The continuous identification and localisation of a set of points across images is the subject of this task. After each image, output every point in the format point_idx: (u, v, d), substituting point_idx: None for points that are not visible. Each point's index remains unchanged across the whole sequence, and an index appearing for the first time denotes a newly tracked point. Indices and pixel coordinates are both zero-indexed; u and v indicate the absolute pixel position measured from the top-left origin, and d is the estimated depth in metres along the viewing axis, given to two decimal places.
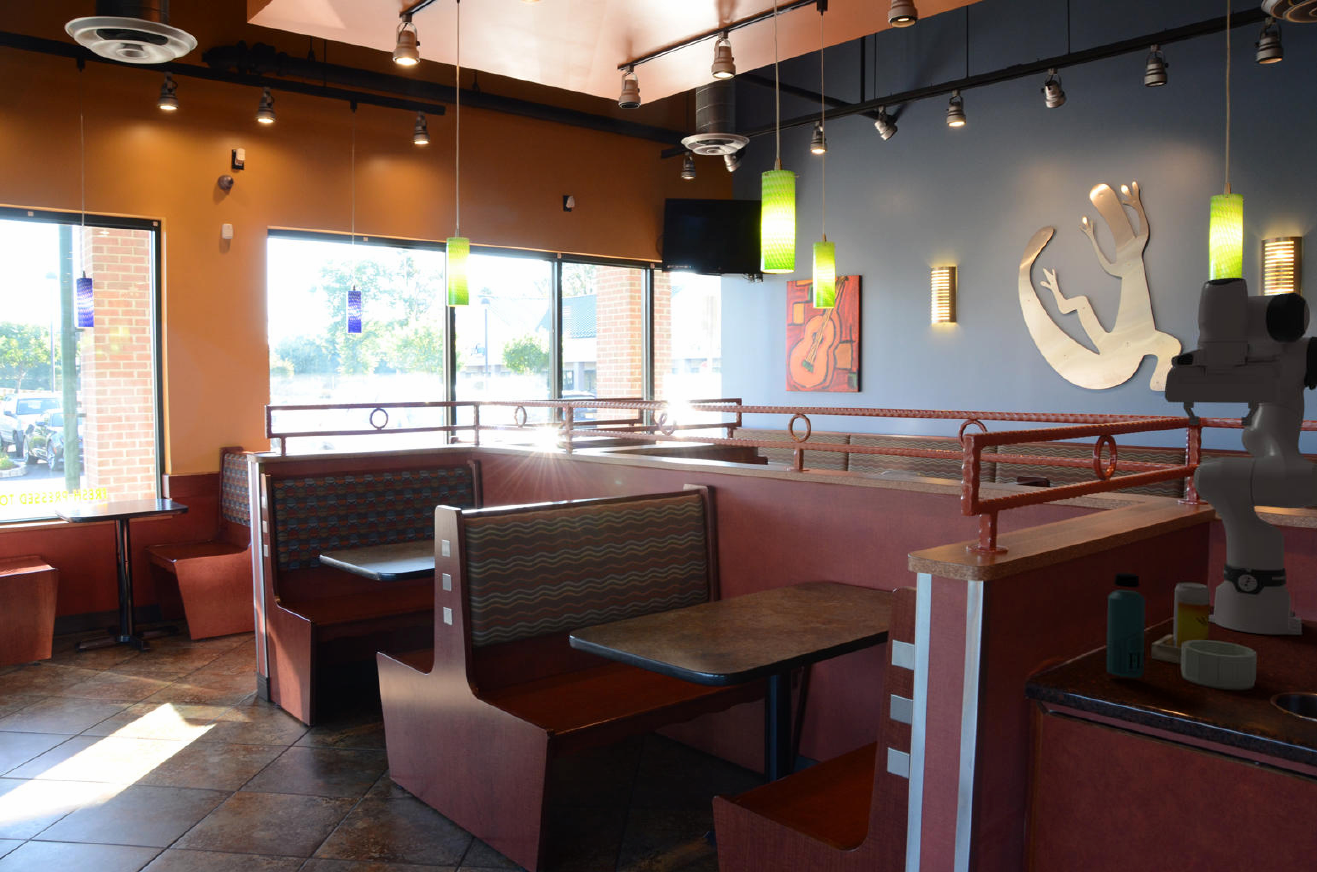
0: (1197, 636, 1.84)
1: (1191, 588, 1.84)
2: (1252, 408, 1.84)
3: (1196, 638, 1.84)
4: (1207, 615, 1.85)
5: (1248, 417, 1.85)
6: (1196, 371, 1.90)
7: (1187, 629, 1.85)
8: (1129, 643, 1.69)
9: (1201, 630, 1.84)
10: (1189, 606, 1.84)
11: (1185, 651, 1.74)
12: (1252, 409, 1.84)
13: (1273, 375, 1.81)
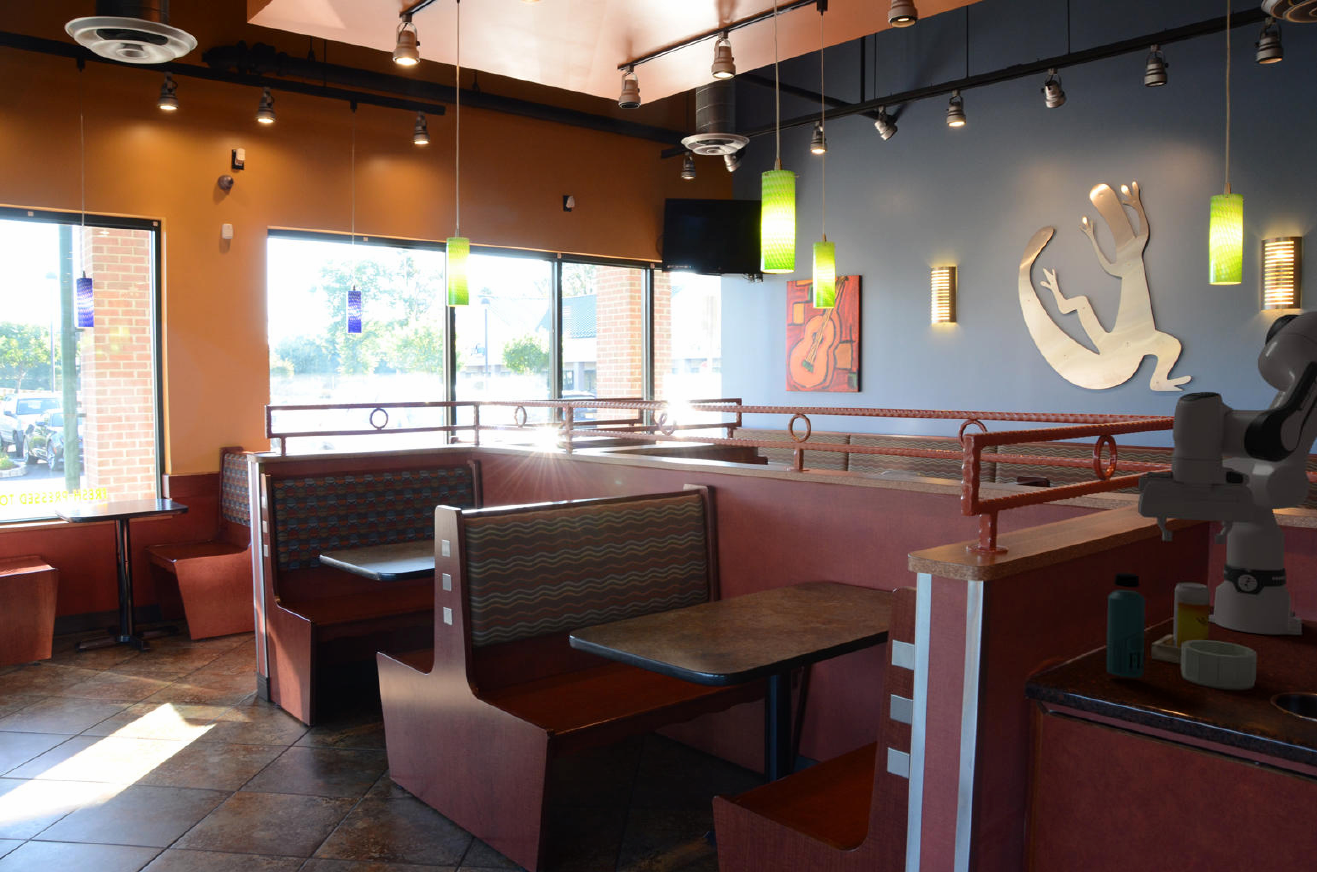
0: (1197, 636, 1.84)
1: (1191, 588, 1.84)
2: None
3: (1196, 638, 1.84)
4: (1207, 615, 1.85)
5: None
6: None
7: (1187, 629, 1.85)
8: (1129, 643, 1.69)
9: (1201, 630, 1.84)
10: (1189, 606, 1.84)
11: (1185, 651, 1.74)
12: None
13: None
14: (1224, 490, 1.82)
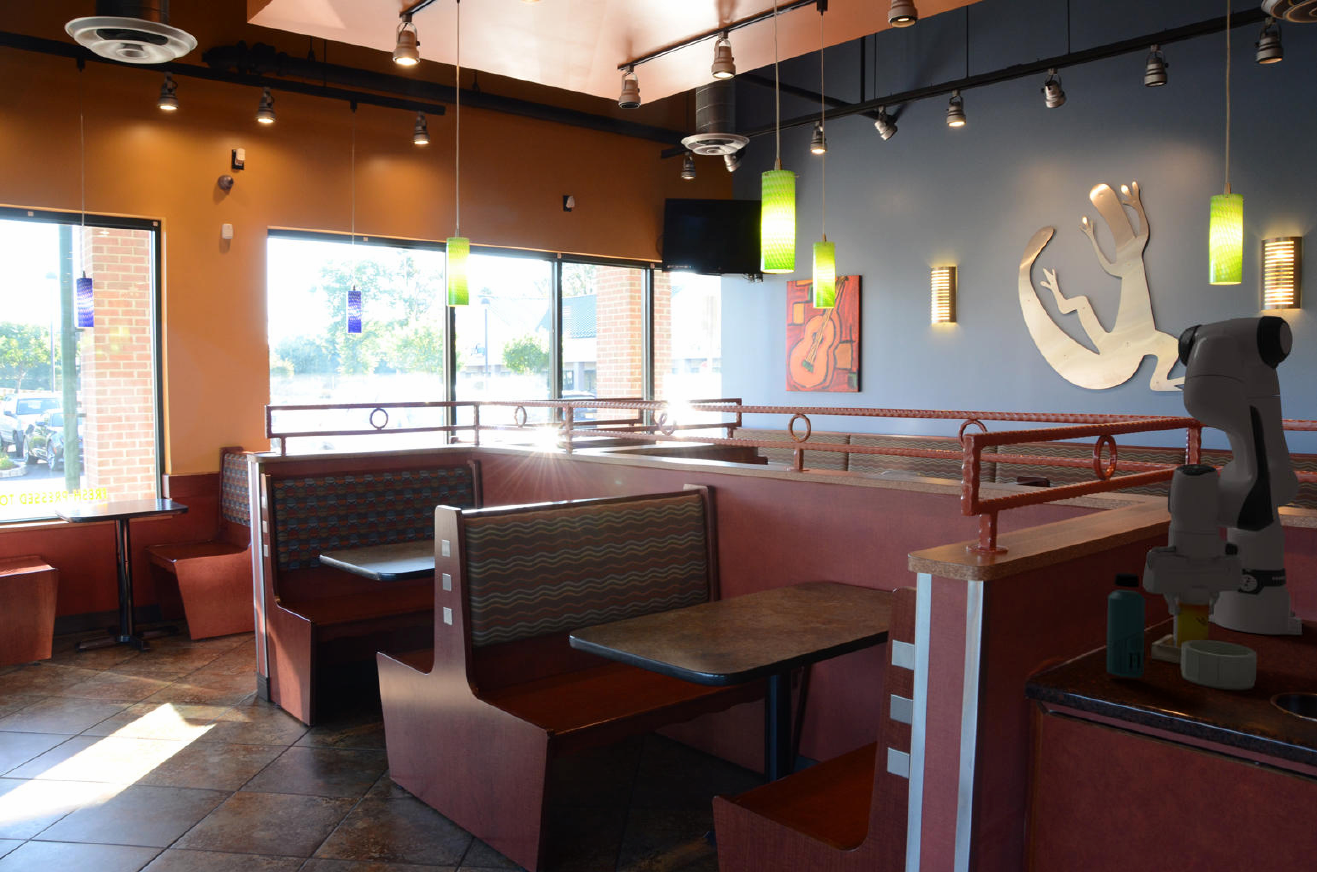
0: (1197, 636, 1.84)
1: (1191, 588, 1.84)
2: None
3: (1196, 638, 1.84)
4: (1207, 615, 1.85)
5: None
6: None
7: (1187, 629, 1.85)
8: (1129, 643, 1.69)
9: (1201, 630, 1.84)
10: (1189, 606, 1.84)
11: (1185, 651, 1.74)
12: None
13: None
14: (1221, 561, 1.85)
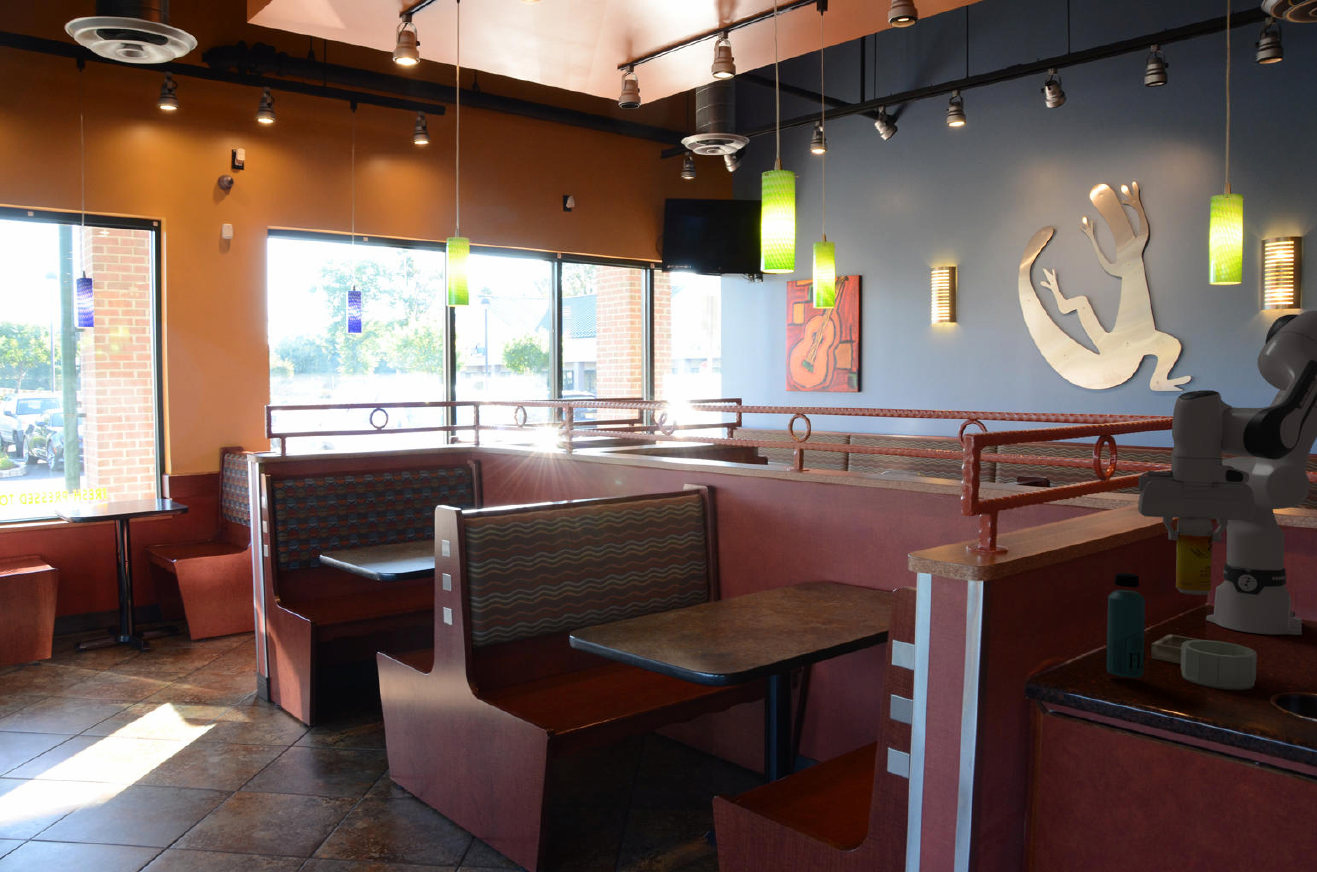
0: (1191, 567, 1.84)
1: (1186, 519, 1.85)
2: None
3: (1190, 569, 1.84)
4: (1205, 547, 1.83)
5: None
6: None
7: (1182, 560, 1.85)
8: (1129, 643, 1.69)
9: (1196, 561, 1.83)
10: (1184, 537, 1.85)
11: (1185, 651, 1.74)
12: None
13: None
14: (1224, 488, 1.82)
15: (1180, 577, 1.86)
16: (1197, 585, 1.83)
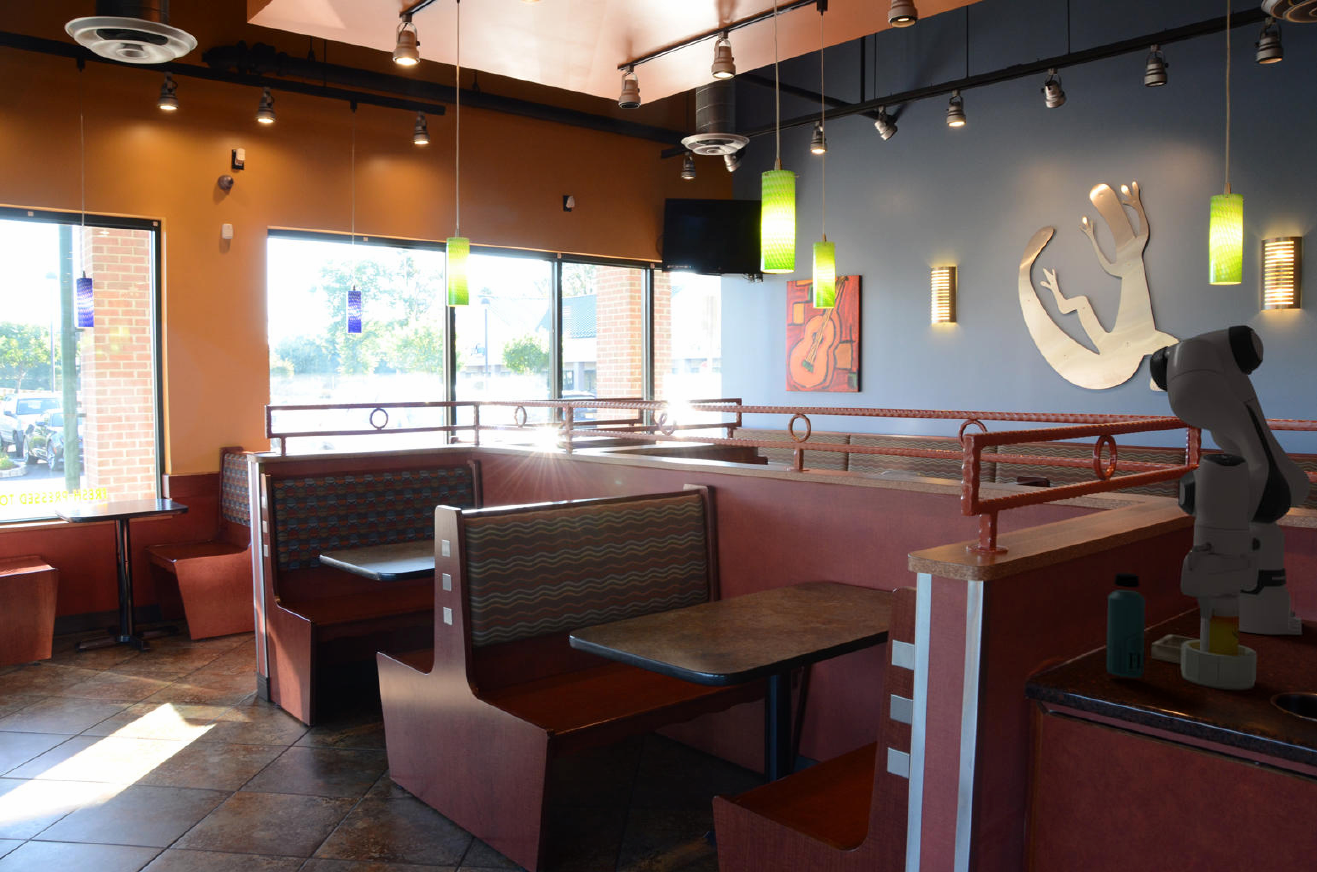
0: (1231, 651, 1.70)
1: (1225, 599, 1.70)
2: None
3: (1231, 653, 1.70)
4: (1238, 627, 1.71)
5: None
6: None
7: (1222, 644, 1.70)
8: (1129, 643, 1.69)
9: (1235, 644, 1.70)
10: (1224, 619, 1.70)
11: (1185, 651, 1.74)
12: None
13: (1183, 565, 1.69)
14: (1247, 557, 1.73)
15: None
16: None
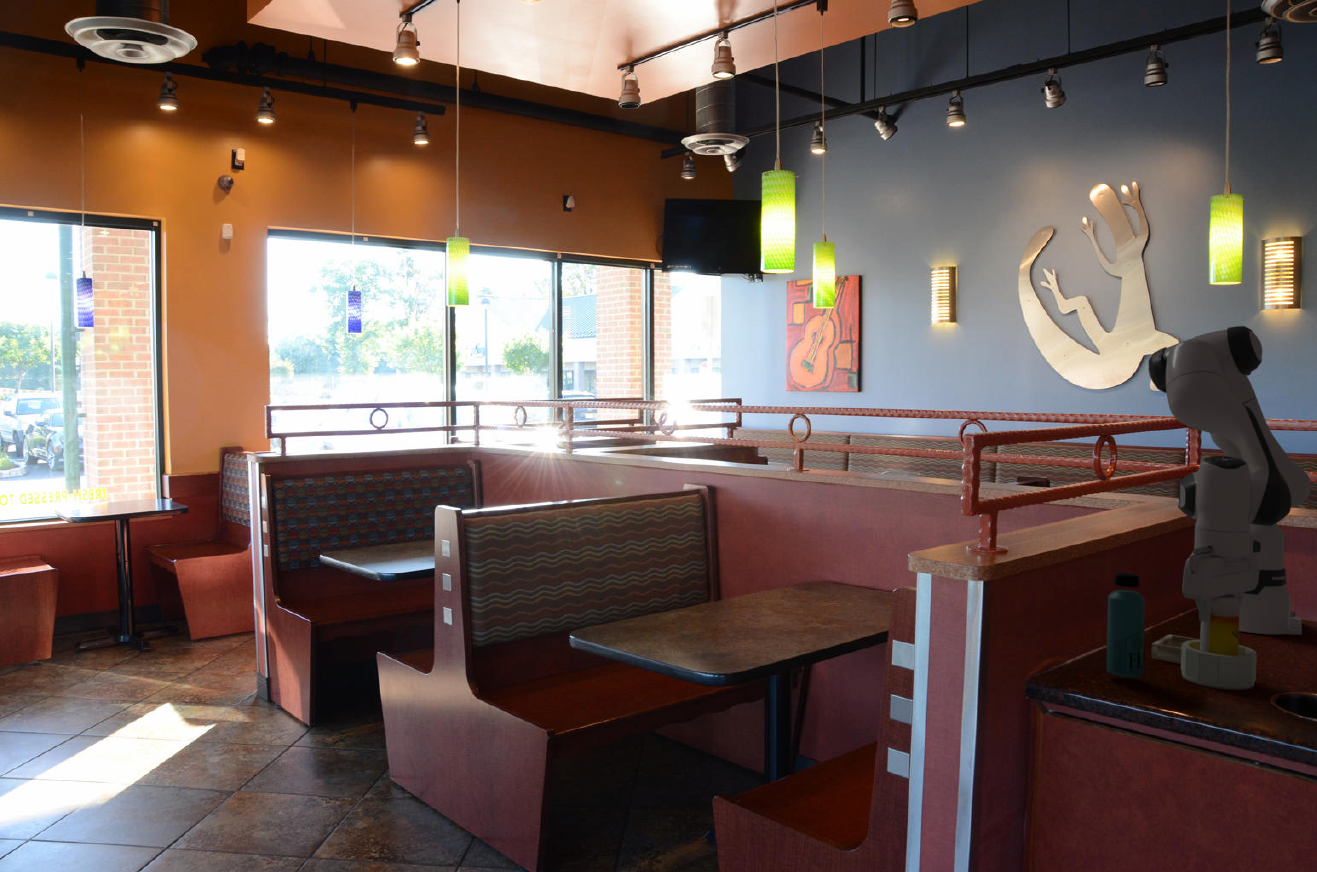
0: (1231, 651, 1.70)
1: (1225, 599, 1.70)
2: None
3: (1231, 653, 1.70)
4: (1238, 627, 1.71)
5: None
6: None
7: (1222, 644, 1.70)
8: (1129, 643, 1.69)
9: (1235, 644, 1.70)
10: (1224, 619, 1.70)
11: (1185, 651, 1.74)
12: None
13: (1184, 568, 1.69)
14: (1247, 560, 1.73)
15: None
16: None
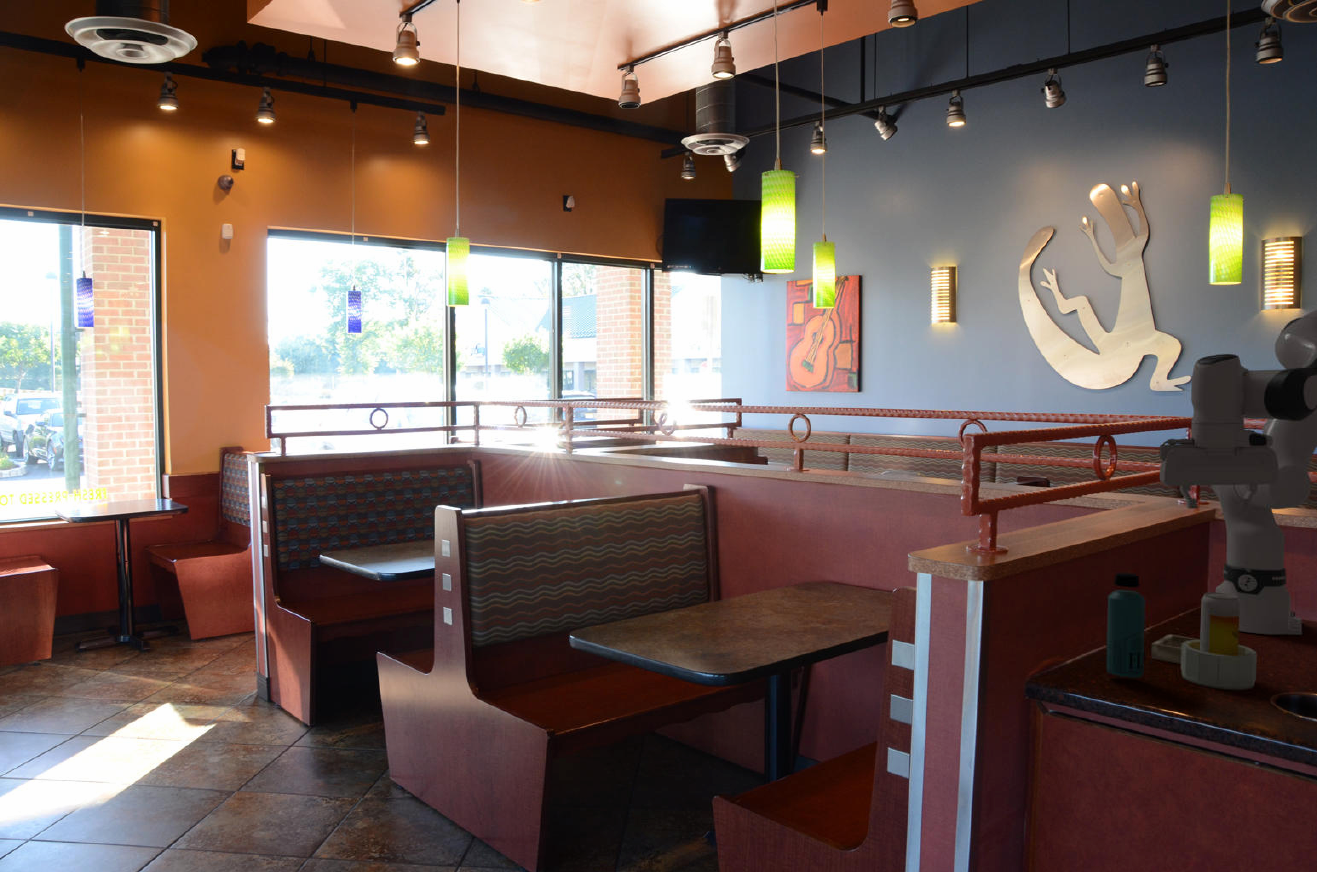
0: (1231, 651, 1.70)
1: (1225, 599, 1.70)
2: None
3: (1231, 653, 1.70)
4: (1238, 627, 1.71)
5: None
6: None
7: (1222, 644, 1.70)
8: (1129, 643, 1.69)
9: (1235, 644, 1.70)
10: (1224, 619, 1.70)
11: (1185, 651, 1.74)
12: None
13: None
14: (1247, 453, 1.79)
15: None
16: None
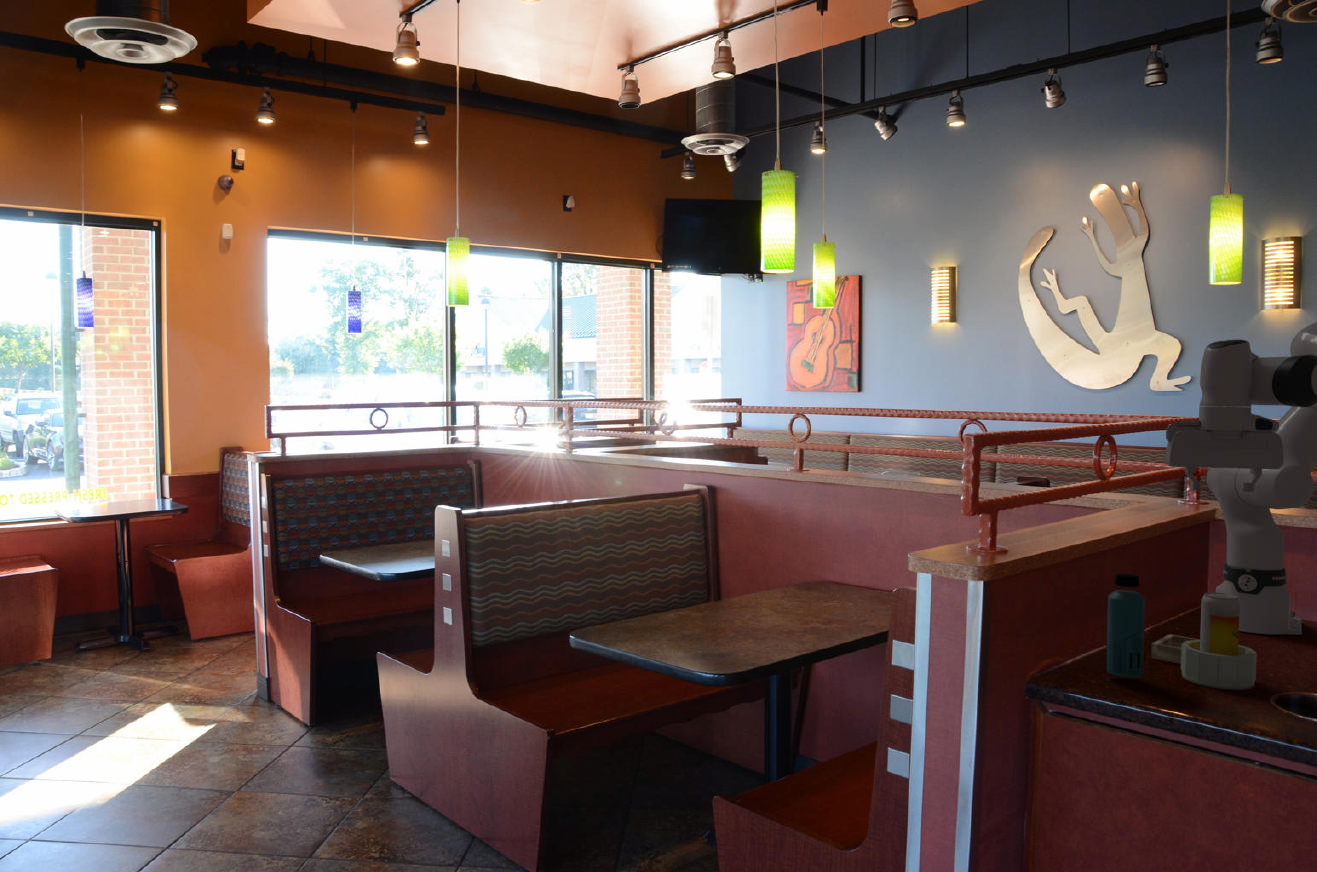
0: (1231, 651, 1.70)
1: (1225, 599, 1.70)
2: None
3: (1231, 653, 1.70)
4: (1238, 627, 1.71)
5: None
6: None
7: (1222, 644, 1.70)
8: (1129, 643, 1.69)
9: (1235, 644, 1.70)
10: (1224, 619, 1.70)
11: (1185, 651, 1.74)
12: None
13: None
14: (1253, 437, 1.81)
15: None
16: None
